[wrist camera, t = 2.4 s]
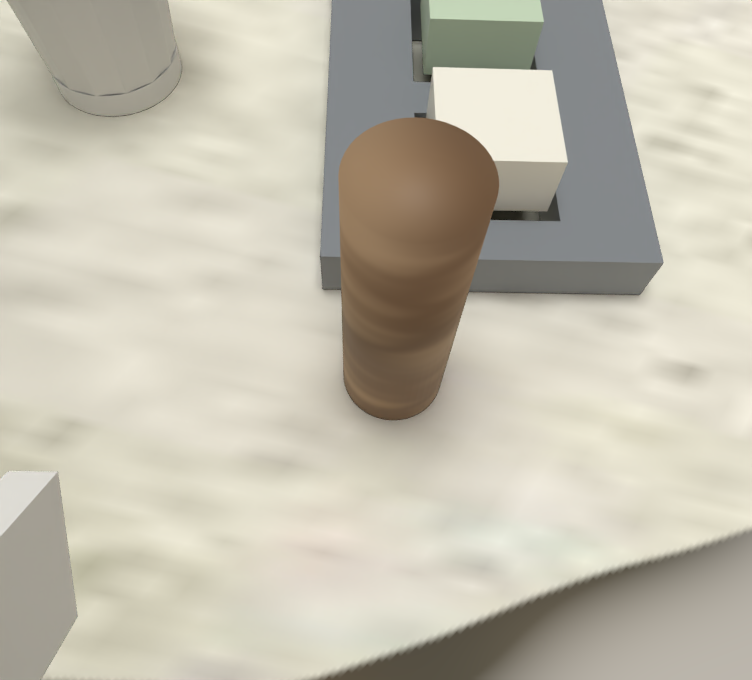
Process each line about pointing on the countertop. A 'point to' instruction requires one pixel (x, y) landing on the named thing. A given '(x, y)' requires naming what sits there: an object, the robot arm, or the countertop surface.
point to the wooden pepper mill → (408, 256)
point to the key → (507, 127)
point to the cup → (105, 51)
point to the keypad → (581, 137)
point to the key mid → (480, 33)
